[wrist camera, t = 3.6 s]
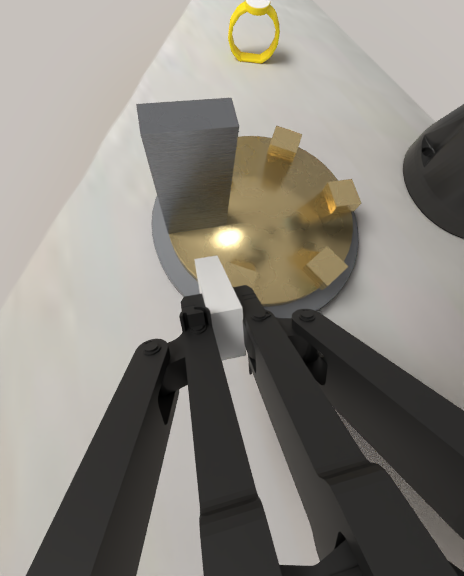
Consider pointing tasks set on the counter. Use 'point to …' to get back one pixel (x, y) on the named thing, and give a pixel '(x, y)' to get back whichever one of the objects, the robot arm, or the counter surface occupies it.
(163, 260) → the grey round base
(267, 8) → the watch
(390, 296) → the counter surface
